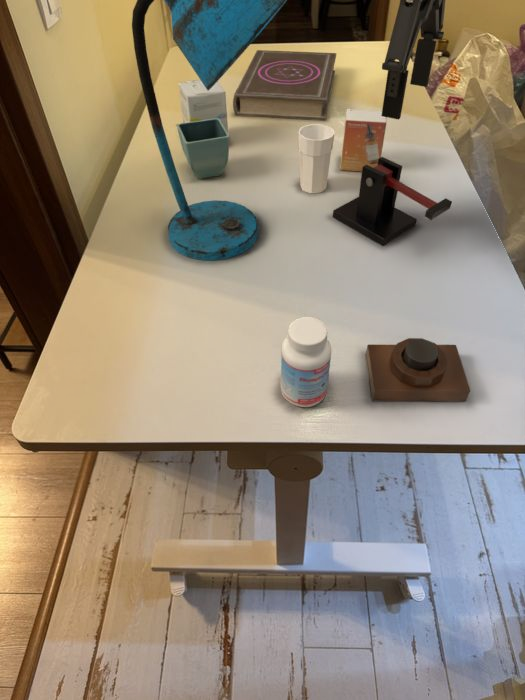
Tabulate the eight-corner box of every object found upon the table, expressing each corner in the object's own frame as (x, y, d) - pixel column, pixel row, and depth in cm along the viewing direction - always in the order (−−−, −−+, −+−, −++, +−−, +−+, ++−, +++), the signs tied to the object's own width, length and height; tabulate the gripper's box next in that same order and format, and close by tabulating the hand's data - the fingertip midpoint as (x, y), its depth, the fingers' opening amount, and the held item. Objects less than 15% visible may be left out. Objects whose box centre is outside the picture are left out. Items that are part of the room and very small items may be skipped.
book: (325, 120, 123) (326, 98, 119) (233, 115, 126) (232, 94, 122) (334, 72, 143) (336, 52, 140) (255, 69, 146) (255, 49, 142)
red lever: (449, 211, 84) (453, 198, 82) (429, 223, 81) (434, 210, 80) (382, 173, 90) (385, 161, 88) (363, 183, 88) (366, 171, 86)
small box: (339, 171, 107) (344, 119, 99) (341, 158, 111) (346, 107, 103) (378, 173, 106) (387, 122, 98) (379, 160, 110) (387, 109, 102)
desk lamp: (274, 270, 85) (274, -82, 52) (150, 252, 89) (76, -86, 56) (294, 216, 96) (304, -105, 63) (182, 203, 100) (135, -107, 66)
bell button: (431, 348, 68) (434, 339, 67) (438, 371, 65) (441, 362, 64) (401, 348, 68) (403, 338, 67) (406, 371, 65) (408, 362, 64)
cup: (327, 196, 100) (332, 141, 92) (294, 193, 101) (295, 138, 93) (331, 179, 105) (336, 125, 96) (299, 176, 106) (301, 122, 97)
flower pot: (233, 178, 106) (230, 135, 99) (190, 186, 104) (185, 143, 97) (222, 159, 111) (218, 117, 105) (182, 166, 110) (175, 123, 103)
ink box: (230, 145, 115) (226, 89, 107) (193, 152, 114) (186, 96, 105) (219, 129, 121) (215, 75, 112) (184, 135, 119) (176, 81, 110)
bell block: (452, 355, 72) (459, 335, 69) (466, 401, 67) (474, 381, 64) (365, 355, 72) (369, 335, 69) (372, 400, 67) (376, 381, 64)
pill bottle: (303, 417, 65) (307, 358, 57) (271, 388, 69) (270, 329, 60) (336, 391, 68) (344, 331, 60) (304, 365, 71) (307, 305, 63)
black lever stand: (415, 226, 93) (428, 170, 85) (382, 246, 89) (393, 189, 81) (365, 199, 99) (373, 145, 91) (332, 217, 95) (337, 162, 87)
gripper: (435, -91, 74) (407, 69, 89) (372, -57, 59) (352, 127, 75) (489, -88, 71) (450, 76, 87) (437, -52, 57) (402, 137, 72)
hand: (405, 100), depth 81 cm, fingers open, 13 cm apart
